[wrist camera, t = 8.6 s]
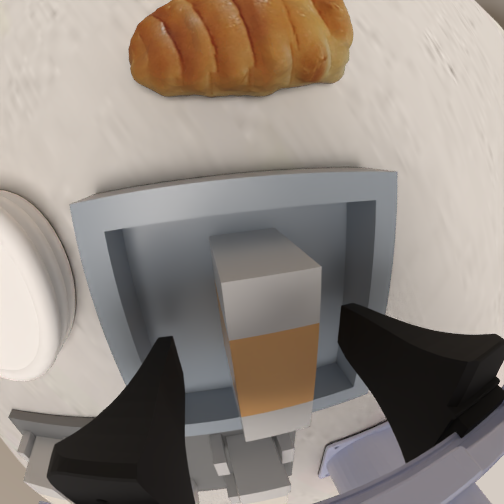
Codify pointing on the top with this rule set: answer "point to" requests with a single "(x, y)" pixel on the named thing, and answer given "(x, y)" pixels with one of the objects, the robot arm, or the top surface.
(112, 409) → the robot arm
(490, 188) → the top surface
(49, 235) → the white round tin
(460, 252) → the top surface
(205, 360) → the tray
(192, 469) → the panel
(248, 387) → the orange fuse
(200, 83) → the pastry
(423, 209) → the top surface
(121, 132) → the top surface
